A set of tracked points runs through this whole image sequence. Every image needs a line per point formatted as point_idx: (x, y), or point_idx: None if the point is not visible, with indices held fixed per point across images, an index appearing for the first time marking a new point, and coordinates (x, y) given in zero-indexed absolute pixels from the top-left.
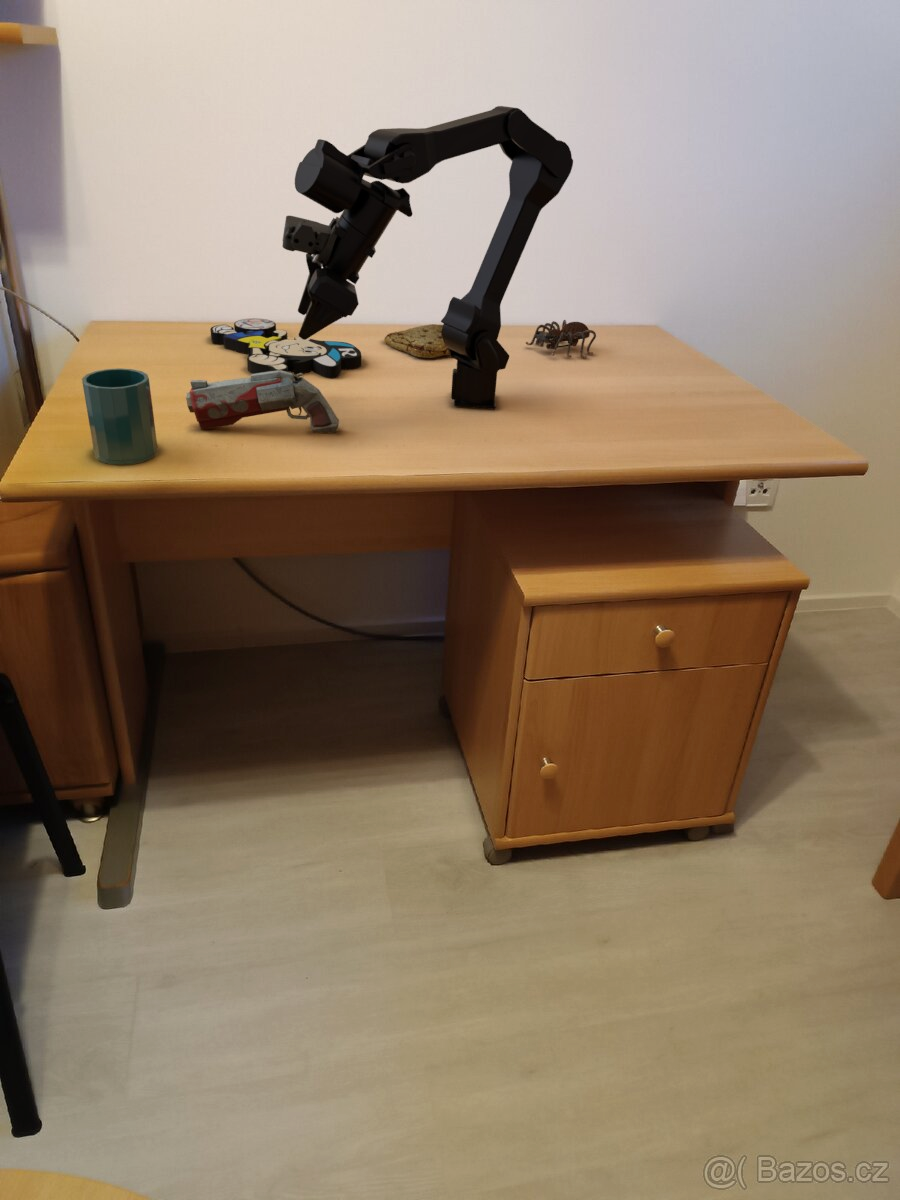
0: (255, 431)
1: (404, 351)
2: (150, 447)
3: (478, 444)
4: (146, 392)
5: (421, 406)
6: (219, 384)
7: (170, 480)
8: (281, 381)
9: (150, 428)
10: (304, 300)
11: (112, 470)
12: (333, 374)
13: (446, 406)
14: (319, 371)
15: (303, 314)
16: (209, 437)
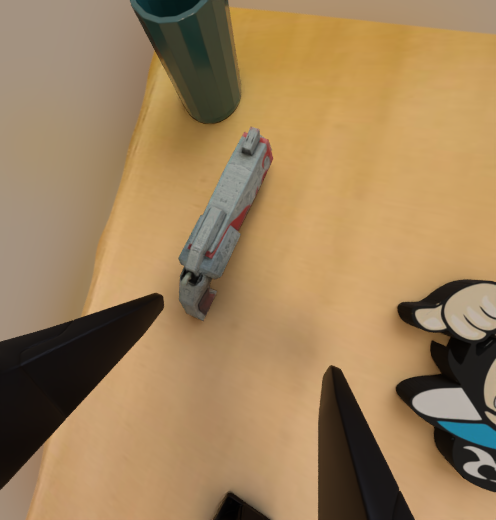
0: None
1: None
2: (186, 106)
3: (119, 444)
4: (153, 38)
5: (246, 450)
6: (236, 168)
7: (140, 128)
8: (189, 249)
9: (179, 90)
10: (334, 414)
11: None
12: (400, 393)
13: (236, 482)
14: (422, 379)
15: (324, 376)
16: None
